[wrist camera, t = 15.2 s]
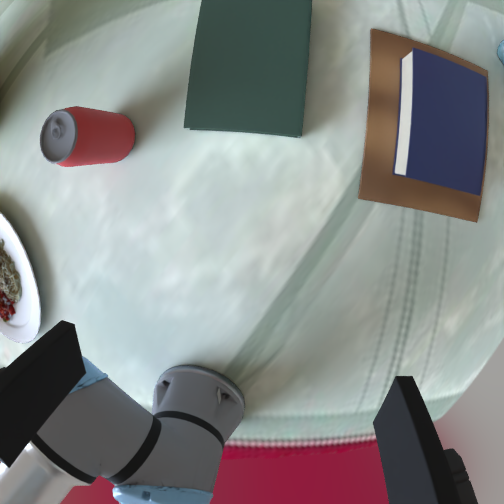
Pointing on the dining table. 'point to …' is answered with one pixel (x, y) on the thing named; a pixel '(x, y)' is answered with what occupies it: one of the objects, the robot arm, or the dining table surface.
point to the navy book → (441, 123)
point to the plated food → (17, 288)
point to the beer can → (86, 137)
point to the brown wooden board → (385, 132)
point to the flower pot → (501, 51)
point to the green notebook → (250, 67)
